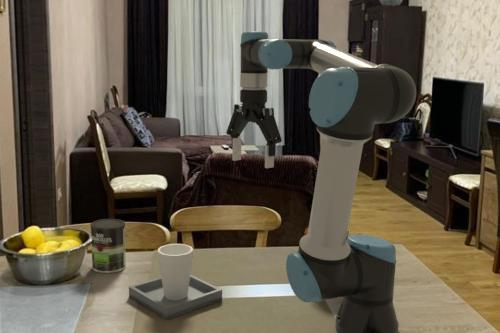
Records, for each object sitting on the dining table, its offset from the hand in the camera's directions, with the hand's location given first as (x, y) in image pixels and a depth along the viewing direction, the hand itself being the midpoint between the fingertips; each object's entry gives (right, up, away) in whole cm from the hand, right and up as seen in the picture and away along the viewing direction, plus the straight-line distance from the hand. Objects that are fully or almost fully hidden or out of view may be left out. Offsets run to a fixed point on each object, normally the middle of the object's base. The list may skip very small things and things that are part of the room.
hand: (252, 163), depth 169 cm
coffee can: (-44, -32, +14) cm, 56 cm away
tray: (-21, -37, -7) cm, 43 cm away
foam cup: (-21, -36, -7) cm, 42 cm away
